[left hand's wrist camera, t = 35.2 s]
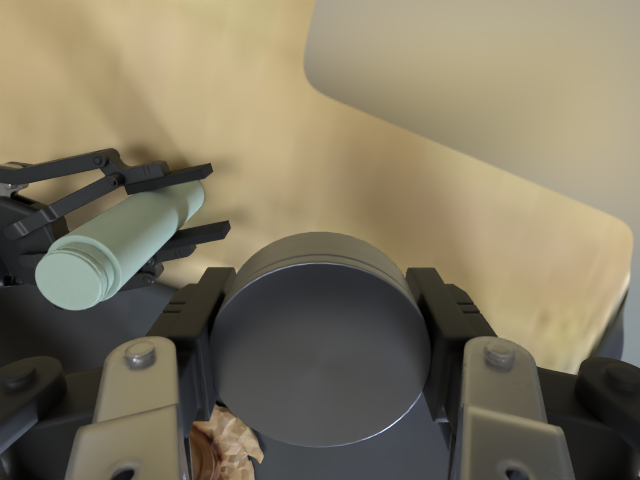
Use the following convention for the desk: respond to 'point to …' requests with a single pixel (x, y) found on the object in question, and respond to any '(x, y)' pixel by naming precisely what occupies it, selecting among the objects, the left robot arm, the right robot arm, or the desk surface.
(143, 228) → the bottle
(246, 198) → the desk surface
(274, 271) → the lid
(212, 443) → the sculpture
